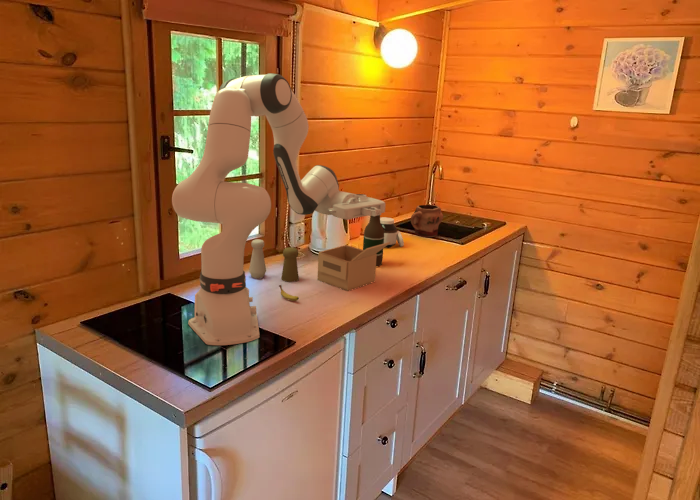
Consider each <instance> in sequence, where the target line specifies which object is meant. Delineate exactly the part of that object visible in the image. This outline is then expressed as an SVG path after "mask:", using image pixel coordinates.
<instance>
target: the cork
mask: <svg viewBox="0 0 700 500" xmlns="http://www.w3.org/2000/svg"><path fill="white" fill-rule="evenodd" d="M282 256H283V258H284V259H283V265H282V272H281V278H280V280H281V281H283V282H285V283H287V282H288V283H293V282H298V281H299V279H300V277H299V276H300V275H299V267H298V260H297V258H298V256H299V250H298V249H297V248H296V247H291V246H290V247H285V248H283V251H282Z"/></svg>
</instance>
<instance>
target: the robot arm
mask: <svg viewBox="0 0 700 500" xmlns="http://www.w3.org/2000/svg"><path fill="white" fill-rule="evenodd" d="M213 98H214V99H213V101H212V105H211V107H210V108H211V109H210V113H209V118H208V124H207V133H206V141H205V146H204V150H203V155H202V157H201V160H200V162H199V164H198V165H197V167H196V168H195V170H194V171H193V172H192V173H191V174H190V175H189V176H188V177H187V178H185V179H183V180H182V181H180V182H179V183H178V184H177V185H176V186H175V187H174V190H173V192H172V195H171V196H172V197H171V205H172V209H173V210H174V212H175V213H176V215H177V216H178V217H180V218H182V219H186V220H189V221H193V222H199V223H210V224H211V223H214V224H221V226H222V227H221V228H222V229H221V232H219V233H217V234H215V235H212V236H210V237H208V238H207V239H205V240H204V241H203V243H202V245H201V248H200V252H201V253H200V257H201V259H200V260H201V261H200V262H201V271H200V272H199V273H200V274H199V283H200V285H199V286H200V288H199V289H198V291H197V292H196V293H195V294H194V317H191V318H190V319H189V320H188V321H187V322H188V323H187V324H188V325H189V327H190V328H191V329H192V330H193V331H194V333H196V335H197V336H198V337H199V338H200V339H201V340H202V341H203V343H205V344H206V345H208V346H228V345H229V346H231V345H237V344H244V343H249V342H252V341H254V340H257V339H259V338H260V336H261V335H260V329H259V320H258V313H257V306H256V305H251V303H253V302H254V300H253V299H254V298H253V296H250V289H249V288H248V287H247V281H246V280H247V279H246V272H245V269H244V265H245V264H244V262H245V261H244V260H245V259H244V258H245V247H246V244H247V241H248V238H249V236H250V235H251V234H252V232H253V231H254V230H255V228H257V227H259V225H262V224H263V223H265V221H266V220H267V218H269V215H270V213H271V210H272V200H271V197H270V194H269V192H268V191H267V189H265V188H264V187H263V186H259V185H256V184H251V183H247V182H235V181H225V179H226V177H227V176H228V175H229V174H230V173H231V172H233V171H235V170H237V169H240V168H242V167H243V166H244V165H245V163H246V162H247V160H248V159H249V151H250V142H251V141H250V140H251V132H252V131H251V130H252V117H265V118H266V120H267V122H268V125H269V126H270V129H271V131H272V135H273V150H272V151H273V157H274V160H275V163H276V166H277V168H278V172H279V175H280V178H281V180H282V183H283V186H284V189H285V192H286V197H287V198H286V199H287V202H288V205H289V207H290V209H291V210H292V211H294V212H295V213H296V214H297V215H301V216H303V215H304V216H305V215H307V216H308V215H312V214H313V213H314V212H317V213H320V214H322V215H327V216H333V217H335V218H339V219H342V220H346V221H349V220H353V219H357V218H362V217H368V216H379V215H380V216H381V215H382V213H383V214H384V213H386V202H385V201H383V200H381V199H378V198H374V197H369V196H367V194H360V193H351V192H347V191H341V190H339V189H340V185H339V181H338V177H337V175H336V173H335V170H333V169H331V168H330V167H328V166H325V165H321V164H317V165H314V166H313V167H312V168H311V169H310V170H309V171H308V172H307V173H306V174H305V175H304V176H303V178H302V179H301V178H300V174H299V171H298V168H297V158H298V155H299V152H300V150H301V148H302V146H303V144H304V142H305V140H306V138H307V136H308V133H309V126H310V125H309V120H308V118H307V115H306V113H305V111H304V109H303V106H302V105H301V103H300V100H299V99H298V98H297V96H296V94H295V93H294V92H293V90H292V87H291V85H290V83H289V81H288V80H287V79H286V77H284V76H282V74H278V73H271V72H270V73H269V72H268V73H267V74H248V75H244V76H241V77H237V78H230V79H227V80H226V81H224V82H223V83H222V84H221V85H220V87H219V89H218V91H217V92H216V94H215V95H214V97H213Z"/></svg>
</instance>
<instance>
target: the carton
mask: <svg viewBox="0 0 700 500" xmlns="http://www.w3.org/2000/svg"><path fill="white" fill-rule="evenodd" d="M362 251H364V250H363V248H362V249H360V248H358V247H355V246H351V245H347V244H345V245H341V246H337V247H333V248H329V249H325V250H321V251H319V252H318V256H317V259H318V260H317V281H319V282H321V283H324V284H327V285H329V286H332V287H336V288H338V289H340V288H341V289H340V290H344V291H346V292H349V290H350V291H352V289H353V290H356V289H358V287H359V288H361V287H363V285H364V286H367V285H370V284H372V283H371V282H373V283H375V282H376V270H377V268H376V258H377V254H374V255H371V256H367V257H364V258H360V259H357V260H354V261H352V259H353V258H354V257H356V256H357V255H358V254H360V253H361V252H362ZM374 281H375V282H374ZM369 283H370V284H369ZM366 284H367V285H366ZM360 286H361V287H360ZM355 288H356V289H355Z"/></svg>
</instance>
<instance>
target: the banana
mask: <svg viewBox="0 0 700 500" xmlns="http://www.w3.org/2000/svg"><path fill="white" fill-rule="evenodd" d="M278 287H279V288H280V296H281V297H282V298H284V299H285V300H286V301H291V302H297V301H298V300H299V299H300V297H299V296H297V295H292V294H289V293H287V292H286V291H284V289H283V288H282V284H280V285H279V284H278Z"/></svg>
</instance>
